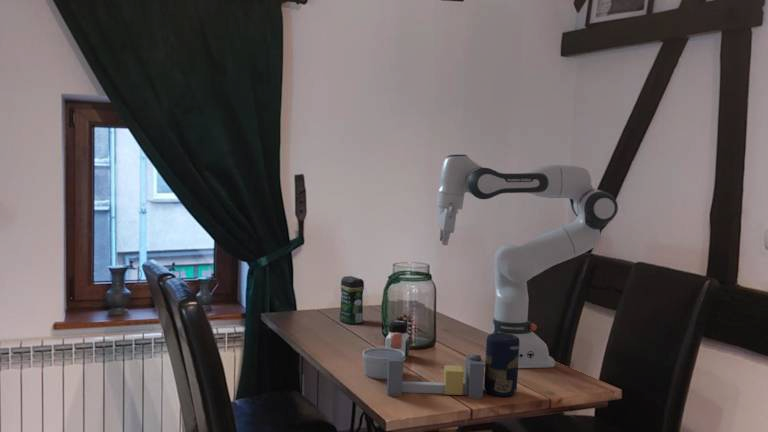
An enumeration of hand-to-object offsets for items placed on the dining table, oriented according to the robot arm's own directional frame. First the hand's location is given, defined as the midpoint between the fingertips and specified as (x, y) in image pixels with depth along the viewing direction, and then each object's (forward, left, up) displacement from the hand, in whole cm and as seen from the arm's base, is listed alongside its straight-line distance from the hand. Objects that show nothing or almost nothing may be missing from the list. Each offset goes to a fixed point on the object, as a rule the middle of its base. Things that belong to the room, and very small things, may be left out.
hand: (443, 243), depth 237 cm
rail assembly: (+4, +35, -39) cm, 52 cm away
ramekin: (+19, +20, -40) cm, 48 cm away
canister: (-15, +34, -40) cm, 54 cm away
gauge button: (+16, +35, -27) cm, 46 cm away
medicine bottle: (+14, 0, -40) cm, 42 cm away
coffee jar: (+31, -48, -40) cm, 70 cm away
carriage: (-1, +35, -39) cm, 52 cm away
